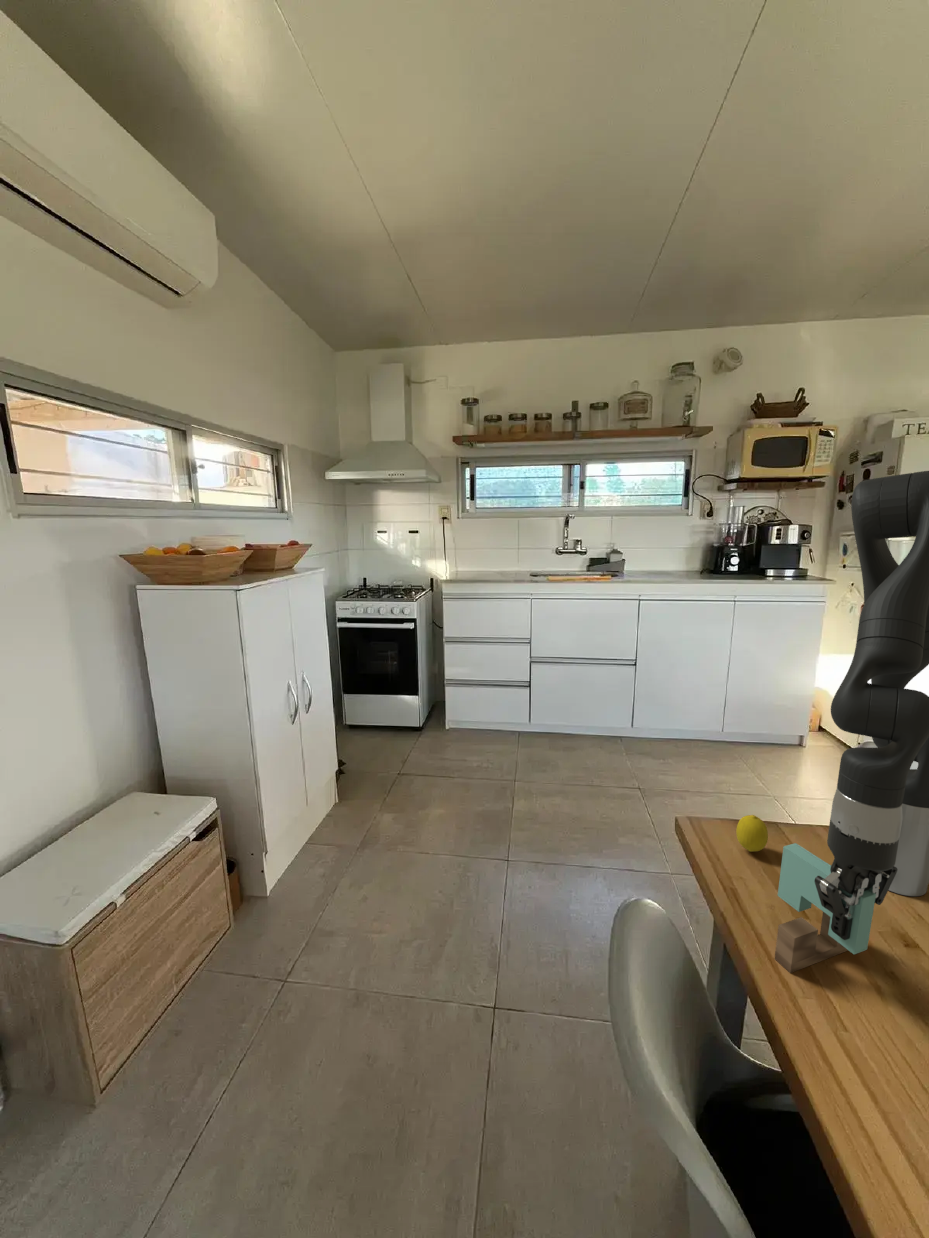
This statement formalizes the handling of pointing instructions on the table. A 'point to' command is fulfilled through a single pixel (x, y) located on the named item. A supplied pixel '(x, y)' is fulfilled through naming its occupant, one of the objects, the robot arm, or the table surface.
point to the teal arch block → (802, 893)
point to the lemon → (752, 833)
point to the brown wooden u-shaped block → (805, 944)
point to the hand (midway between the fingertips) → (847, 931)
